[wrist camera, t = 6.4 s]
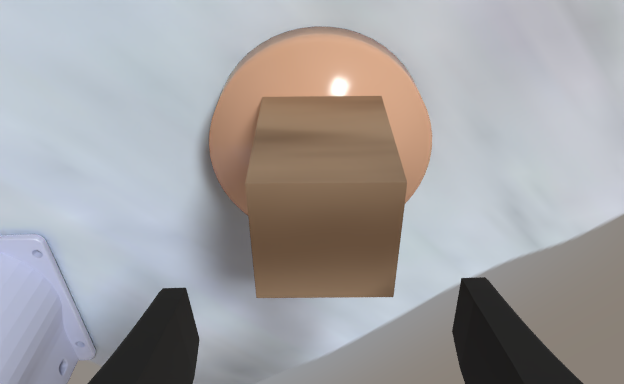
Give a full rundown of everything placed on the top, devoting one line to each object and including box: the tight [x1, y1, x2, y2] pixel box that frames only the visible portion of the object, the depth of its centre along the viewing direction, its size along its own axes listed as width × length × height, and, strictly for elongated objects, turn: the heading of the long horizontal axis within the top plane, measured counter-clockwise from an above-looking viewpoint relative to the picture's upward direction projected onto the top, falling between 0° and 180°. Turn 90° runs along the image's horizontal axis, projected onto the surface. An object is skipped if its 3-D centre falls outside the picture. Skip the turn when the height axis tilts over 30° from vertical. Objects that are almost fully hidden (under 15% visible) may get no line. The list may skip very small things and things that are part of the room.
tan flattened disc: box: [209, 27, 432, 215], centre depth 21 cm, size 9×9×2 cm
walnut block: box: [245, 96, 407, 298], centre depth 17 cm, size 4×4×6 cm
